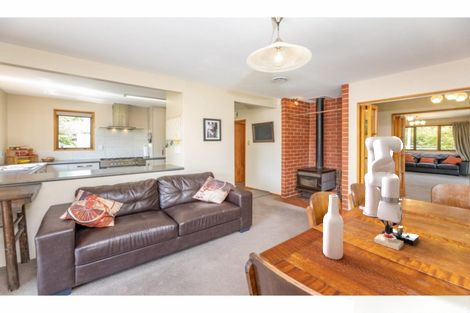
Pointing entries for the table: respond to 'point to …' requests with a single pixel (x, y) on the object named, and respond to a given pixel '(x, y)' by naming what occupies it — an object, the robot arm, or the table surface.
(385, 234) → the button
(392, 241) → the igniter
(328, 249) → the alcohol
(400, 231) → the hob knob
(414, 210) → the table surface
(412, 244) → the panel
